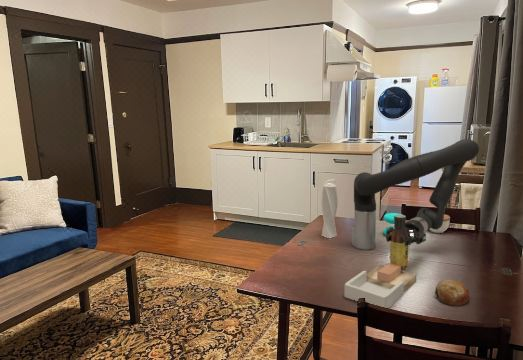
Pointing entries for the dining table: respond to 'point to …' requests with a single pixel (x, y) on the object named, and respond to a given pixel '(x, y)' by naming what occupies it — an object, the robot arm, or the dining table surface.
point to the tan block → (394, 267)
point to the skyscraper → (329, 209)
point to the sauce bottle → (399, 243)
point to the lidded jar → (444, 225)
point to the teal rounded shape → (389, 220)
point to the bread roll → (452, 292)
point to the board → (404, 277)
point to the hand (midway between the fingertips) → (396, 241)
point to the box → (372, 291)
